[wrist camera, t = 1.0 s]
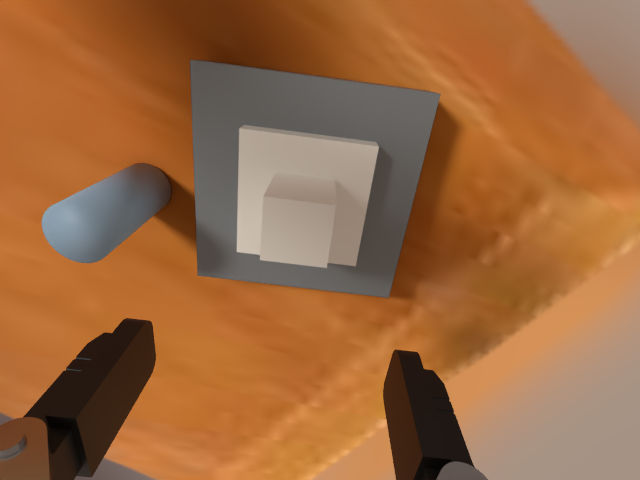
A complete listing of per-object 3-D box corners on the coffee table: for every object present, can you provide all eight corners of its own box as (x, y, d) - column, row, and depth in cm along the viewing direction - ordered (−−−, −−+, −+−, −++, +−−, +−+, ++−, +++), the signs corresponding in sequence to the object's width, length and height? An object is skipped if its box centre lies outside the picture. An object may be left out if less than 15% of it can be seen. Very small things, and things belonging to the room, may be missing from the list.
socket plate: (208, 257, 32) (197, 275, 29) (205, 60, 25) (190, 59, 22) (383, 278, 32) (388, 297, 30) (428, 91, 25) (440, 93, 23)
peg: (125, 206, 30) (49, 258, 22) (119, 160, 28) (34, 197, 20) (172, 212, 30) (115, 266, 22) (169, 166, 28) (106, 206, 20)
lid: (241, 243, 28) (217, 290, 22) (244, 124, 24) (216, 144, 18) (354, 256, 28) (361, 306, 22) (376, 142, 24) (391, 166, 18)
